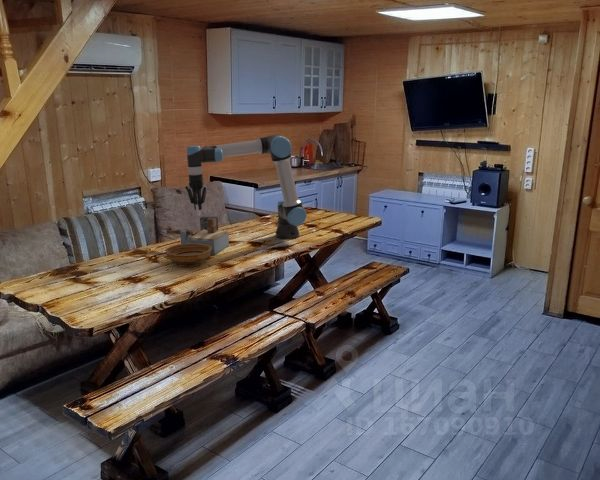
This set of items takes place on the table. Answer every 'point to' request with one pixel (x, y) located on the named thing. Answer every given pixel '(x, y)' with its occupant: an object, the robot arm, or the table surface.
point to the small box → (204, 222)
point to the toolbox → (207, 242)
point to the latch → (178, 231)
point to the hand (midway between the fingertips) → (198, 215)
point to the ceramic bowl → (188, 253)
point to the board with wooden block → (209, 232)
